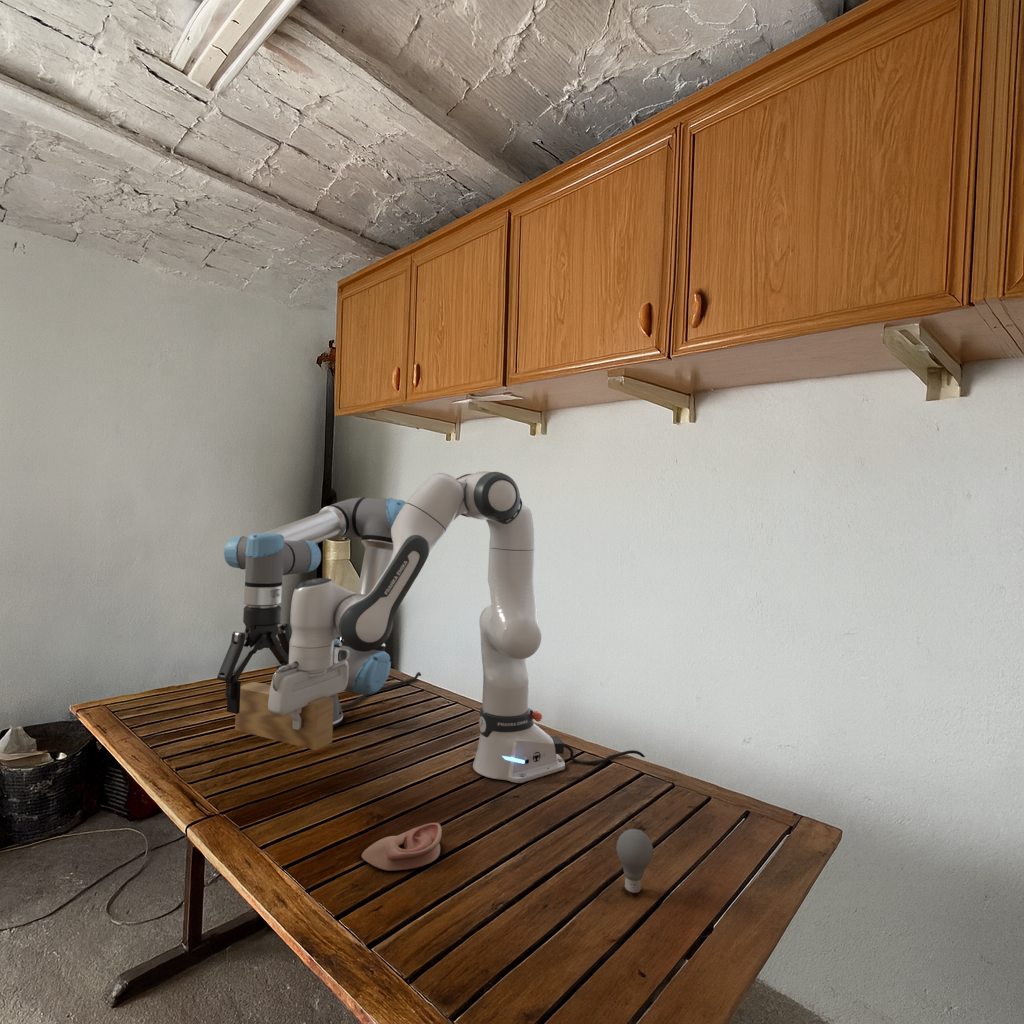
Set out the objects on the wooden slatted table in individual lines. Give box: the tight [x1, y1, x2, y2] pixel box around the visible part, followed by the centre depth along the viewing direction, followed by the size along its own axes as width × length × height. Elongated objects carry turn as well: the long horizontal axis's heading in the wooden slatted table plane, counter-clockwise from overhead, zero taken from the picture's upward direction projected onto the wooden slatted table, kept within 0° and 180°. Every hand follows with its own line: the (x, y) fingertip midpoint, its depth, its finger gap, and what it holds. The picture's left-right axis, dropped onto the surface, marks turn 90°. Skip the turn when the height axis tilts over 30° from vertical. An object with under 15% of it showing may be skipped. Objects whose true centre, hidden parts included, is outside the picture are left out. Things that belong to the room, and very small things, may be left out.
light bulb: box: [615, 828, 654, 894], centre depth 106 cm, size 6×6×10 cm
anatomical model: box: [361, 822, 443, 872], centre depth 114 cm, size 13×4×12 cm
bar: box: [234, 681, 334, 751], centre depth 134 cm, size 22×5×9 cm, turn 66°
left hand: (258, 703), depth 136 cm, fingers open, 13 cm apart
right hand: (309, 723), depth 131 cm, fingers closed on bar, 5 cm apart
